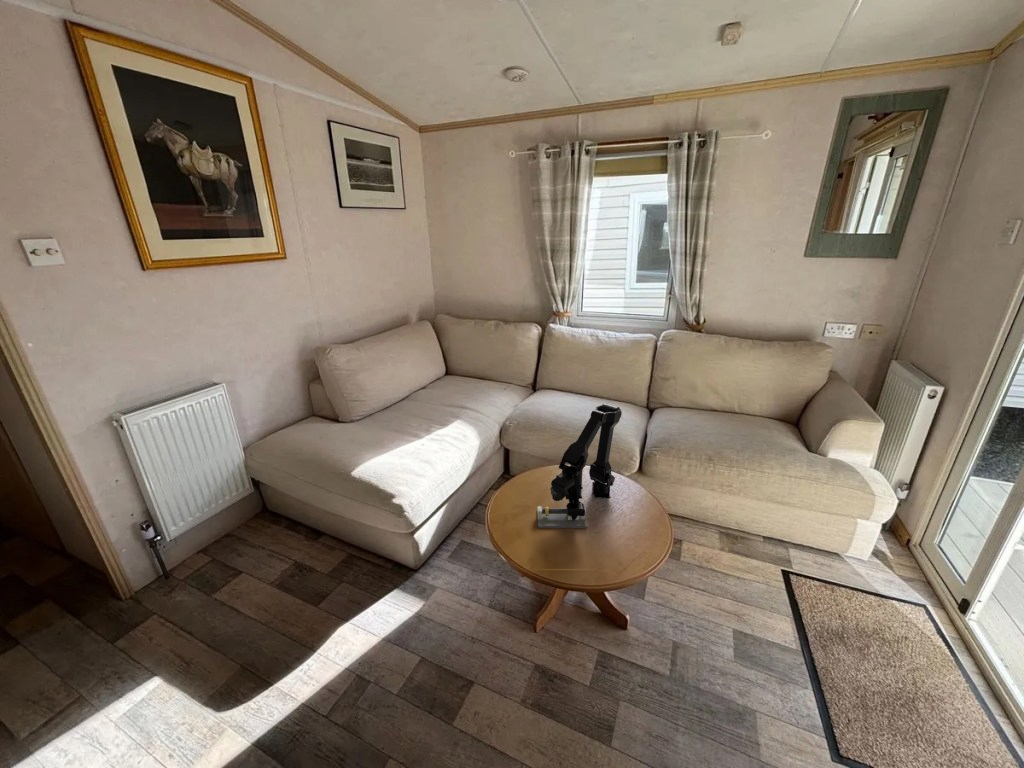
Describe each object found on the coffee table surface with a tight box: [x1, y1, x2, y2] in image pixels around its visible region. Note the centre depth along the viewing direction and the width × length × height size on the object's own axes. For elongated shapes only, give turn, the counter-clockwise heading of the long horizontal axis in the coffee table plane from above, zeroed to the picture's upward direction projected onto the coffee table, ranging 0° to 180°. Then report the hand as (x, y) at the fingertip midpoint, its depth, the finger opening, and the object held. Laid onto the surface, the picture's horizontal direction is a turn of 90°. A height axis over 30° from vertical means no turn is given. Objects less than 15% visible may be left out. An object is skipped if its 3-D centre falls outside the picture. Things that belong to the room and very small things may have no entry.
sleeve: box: [566, 502, 579, 520], centre depth 150 cm, size 4×4×4 cm
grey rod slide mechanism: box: [536, 505, 588, 529], centre depth 150 cm, size 18×10×5 cm, turn 88°
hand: (572, 515), depth 151 cm, fingers closed on sleeve, 4 cm apart
